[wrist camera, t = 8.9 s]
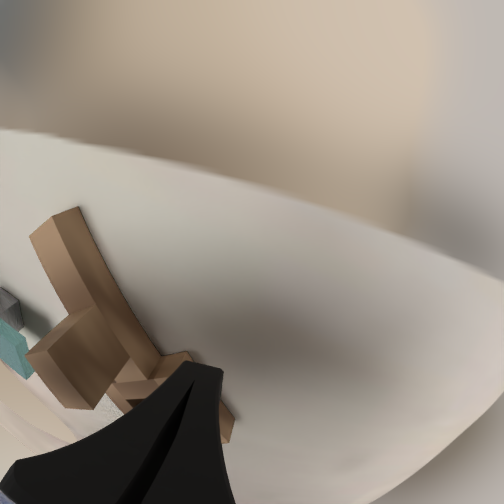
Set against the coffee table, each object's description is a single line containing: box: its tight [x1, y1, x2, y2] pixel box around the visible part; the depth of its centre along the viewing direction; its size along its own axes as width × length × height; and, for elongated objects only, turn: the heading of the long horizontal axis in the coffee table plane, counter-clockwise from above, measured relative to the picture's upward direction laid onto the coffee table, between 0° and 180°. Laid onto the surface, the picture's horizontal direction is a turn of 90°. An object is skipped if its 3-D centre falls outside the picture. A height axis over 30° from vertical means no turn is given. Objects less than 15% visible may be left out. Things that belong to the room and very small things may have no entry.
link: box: [24, 207, 235, 444], centre depth 11 cm, size 14×5×5 cm, turn 24°
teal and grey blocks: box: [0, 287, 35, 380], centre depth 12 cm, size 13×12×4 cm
